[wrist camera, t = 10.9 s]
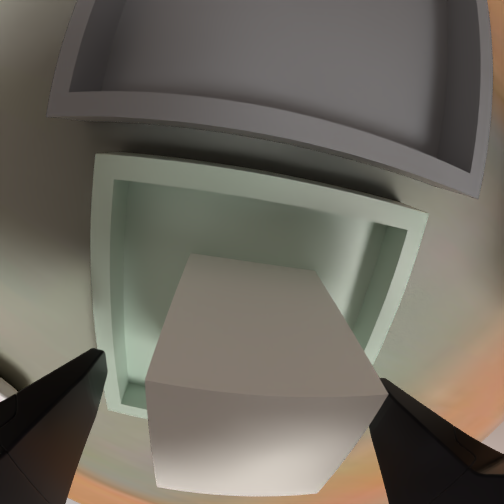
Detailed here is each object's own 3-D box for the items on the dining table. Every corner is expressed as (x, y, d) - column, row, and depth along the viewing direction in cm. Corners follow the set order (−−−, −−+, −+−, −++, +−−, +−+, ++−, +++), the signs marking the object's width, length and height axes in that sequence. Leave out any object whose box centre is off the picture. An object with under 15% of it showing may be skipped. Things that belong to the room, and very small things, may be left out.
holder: (401, 202, 12) (428, 213, 10) (326, 404, 16) (335, 432, 14) (119, 151, 11) (95, 153, 8) (119, 382, 14) (108, 409, 12)
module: (315, 270, 12) (388, 394, 5) (287, 365, 14) (316, 493, 7) (190, 253, 12) (144, 380, 5) (181, 353, 13) (157, 486, 6)
